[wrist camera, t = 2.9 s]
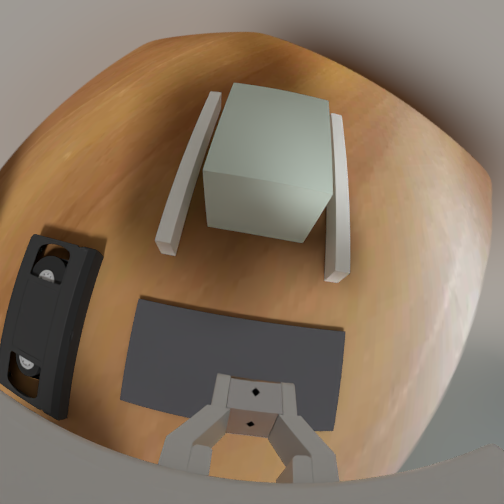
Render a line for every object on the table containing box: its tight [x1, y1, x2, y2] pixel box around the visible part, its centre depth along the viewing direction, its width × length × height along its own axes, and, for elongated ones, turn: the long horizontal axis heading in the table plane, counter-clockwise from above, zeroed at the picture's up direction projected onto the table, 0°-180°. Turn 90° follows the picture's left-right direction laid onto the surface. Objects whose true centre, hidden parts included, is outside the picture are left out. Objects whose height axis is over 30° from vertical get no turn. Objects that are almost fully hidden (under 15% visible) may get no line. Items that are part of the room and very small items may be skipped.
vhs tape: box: [0, 234, 103, 420], centre depth 18 cm, size 14×8×2 cm, turn 170°
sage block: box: [203, 83, 333, 243], centre depth 22 cm, size 8×10×8 cm
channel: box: [120, 91, 350, 431], centre depth 22 cm, size 16×30×2 cm, turn 172°
